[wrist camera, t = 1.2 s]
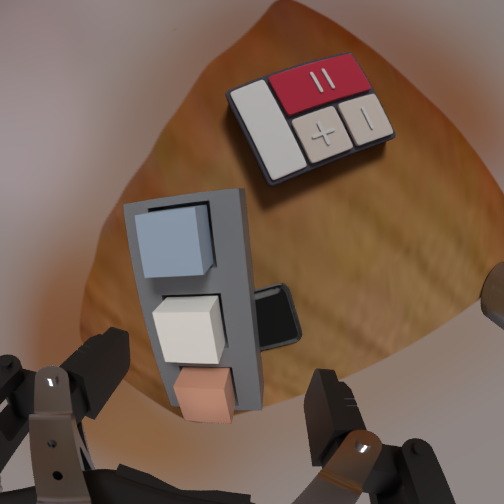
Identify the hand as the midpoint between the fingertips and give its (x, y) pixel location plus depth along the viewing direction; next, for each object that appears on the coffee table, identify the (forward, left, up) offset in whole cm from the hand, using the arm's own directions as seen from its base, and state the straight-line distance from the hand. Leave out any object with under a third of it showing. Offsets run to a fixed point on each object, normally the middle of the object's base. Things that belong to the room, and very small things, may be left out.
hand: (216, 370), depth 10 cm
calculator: (-8, -15, -21) cm, 27 cm away
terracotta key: (+6, +15, -16) cm, 23 cm away
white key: (+6, +6, -16) cm, 18 cm away
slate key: (+6, -3, -16) cm, 18 cm away
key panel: (+6, +6, -21) cm, 23 cm away
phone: (+3, +9, -21) cm, 23 cm away
